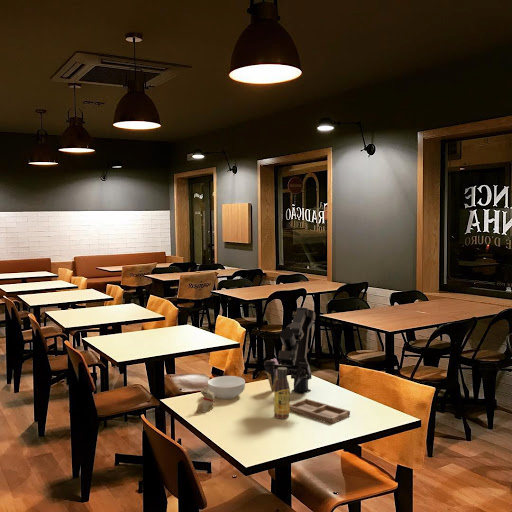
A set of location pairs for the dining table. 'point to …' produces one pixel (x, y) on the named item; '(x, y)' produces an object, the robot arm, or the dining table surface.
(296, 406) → the walnut holder
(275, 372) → the ice cream cone
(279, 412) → the sauce bottle
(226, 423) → the dining table surface
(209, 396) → the chocolate bunny
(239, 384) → the cereal bowl
